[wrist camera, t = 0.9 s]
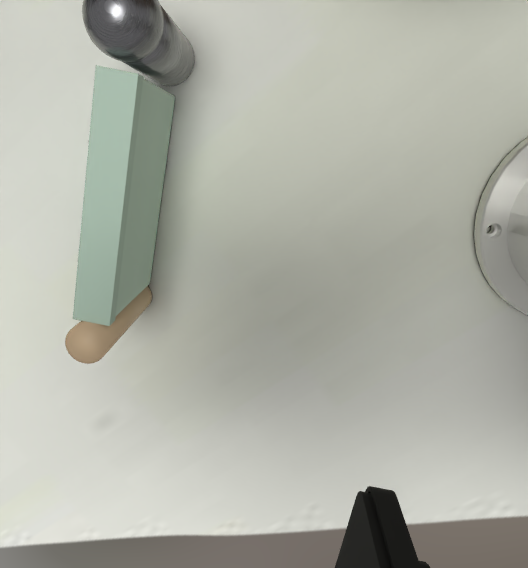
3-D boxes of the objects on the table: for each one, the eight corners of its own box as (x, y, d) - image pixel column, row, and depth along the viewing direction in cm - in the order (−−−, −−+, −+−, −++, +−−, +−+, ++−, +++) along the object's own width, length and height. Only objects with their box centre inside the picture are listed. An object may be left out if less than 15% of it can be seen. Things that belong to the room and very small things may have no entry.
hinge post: (192, 25, 26) (145, -46, 17) (198, 85, 27) (157, 49, 18) (137, 29, 26) (61, -38, 17) (144, 89, 27) (76, 56, 18)
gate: (145, 90, 27) (89, 62, 19) (179, 97, 27) (137, 72, 19) (119, 306, 31) (63, 359, 23) (149, 312, 31) (104, 366, 23)
